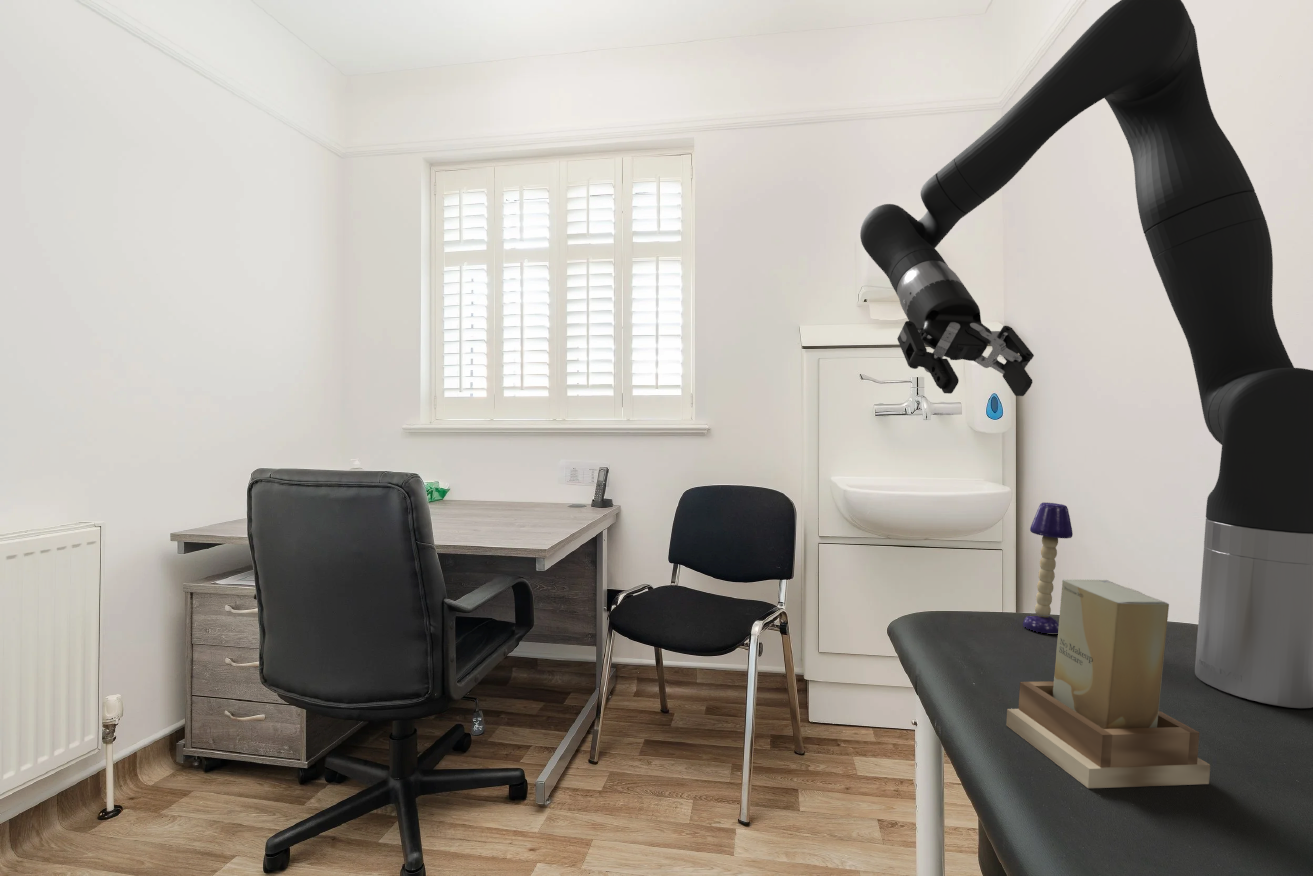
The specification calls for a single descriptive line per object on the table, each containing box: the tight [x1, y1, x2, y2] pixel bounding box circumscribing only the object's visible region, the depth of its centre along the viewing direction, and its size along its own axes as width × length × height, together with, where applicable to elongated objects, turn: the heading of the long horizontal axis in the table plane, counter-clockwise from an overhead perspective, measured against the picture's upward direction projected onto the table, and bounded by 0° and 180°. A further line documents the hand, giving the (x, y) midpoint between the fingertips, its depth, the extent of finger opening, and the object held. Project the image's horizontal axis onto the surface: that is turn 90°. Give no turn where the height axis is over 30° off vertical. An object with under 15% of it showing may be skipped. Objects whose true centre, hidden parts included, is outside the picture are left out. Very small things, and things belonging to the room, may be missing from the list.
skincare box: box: [1053, 579, 1170, 729], centre depth 50 cm, size 6×4×12 cm
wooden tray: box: [1006, 680, 1211, 789], centre depth 50 cm, size 10×9×4 cm
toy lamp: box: [1022, 502, 1073, 634], centre depth 79 cm, size 5×5×17 cm
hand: (988, 389), depth 67 cm, fingers open, 8 cm apart
